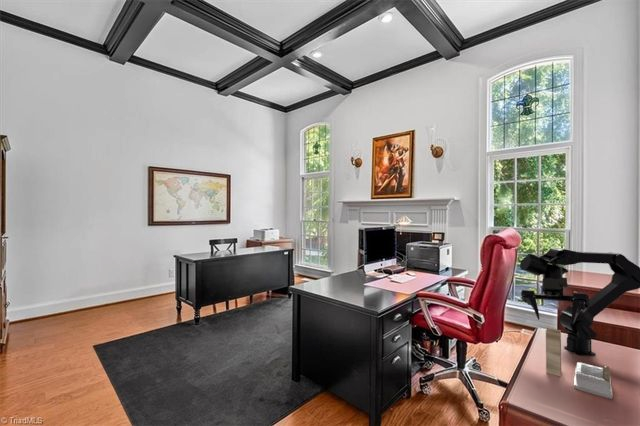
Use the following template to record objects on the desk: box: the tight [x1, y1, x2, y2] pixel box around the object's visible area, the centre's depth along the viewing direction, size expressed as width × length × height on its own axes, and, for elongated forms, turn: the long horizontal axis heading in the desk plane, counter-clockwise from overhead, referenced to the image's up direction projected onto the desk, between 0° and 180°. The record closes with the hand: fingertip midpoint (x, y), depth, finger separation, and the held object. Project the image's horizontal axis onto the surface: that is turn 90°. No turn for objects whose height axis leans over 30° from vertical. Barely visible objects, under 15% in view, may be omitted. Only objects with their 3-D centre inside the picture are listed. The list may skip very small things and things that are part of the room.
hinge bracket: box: [573, 361, 613, 400], centre depth 90 cm, size 14×8×5 cm, turn 138°
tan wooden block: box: [545, 327, 562, 377], centre depth 97 cm, size 4×4×13 cm
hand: (555, 321), depth 102 cm, fingers open, 9 cm apart
